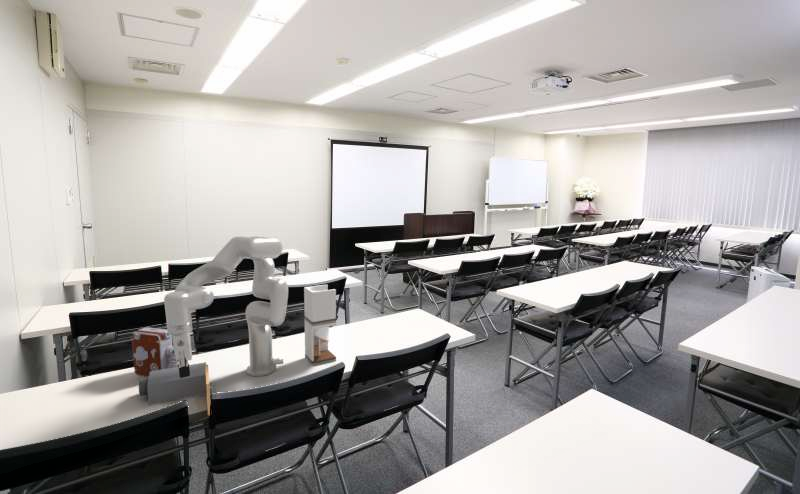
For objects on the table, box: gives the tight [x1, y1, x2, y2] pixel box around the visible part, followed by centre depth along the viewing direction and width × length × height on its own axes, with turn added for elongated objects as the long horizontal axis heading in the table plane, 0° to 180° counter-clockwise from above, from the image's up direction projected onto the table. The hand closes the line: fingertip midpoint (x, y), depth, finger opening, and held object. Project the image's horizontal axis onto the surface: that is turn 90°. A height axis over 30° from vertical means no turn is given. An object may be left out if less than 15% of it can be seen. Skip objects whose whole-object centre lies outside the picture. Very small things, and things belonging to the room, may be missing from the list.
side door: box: [205, 364, 214, 416], centre depth 149 cm, size 17×2×12 cm, turn 27°
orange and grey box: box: [138, 361, 207, 406], centre depth 156 cm, size 23×12×8 cm, turn 118°
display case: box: [303, 284, 337, 367], centre depth 188 cm, size 11×11×35 cm
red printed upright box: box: [131, 326, 179, 378], centre depth 170 cm, size 9×19×20 cm, turn 78°
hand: (184, 376), depth 141 cm, fingers closed
